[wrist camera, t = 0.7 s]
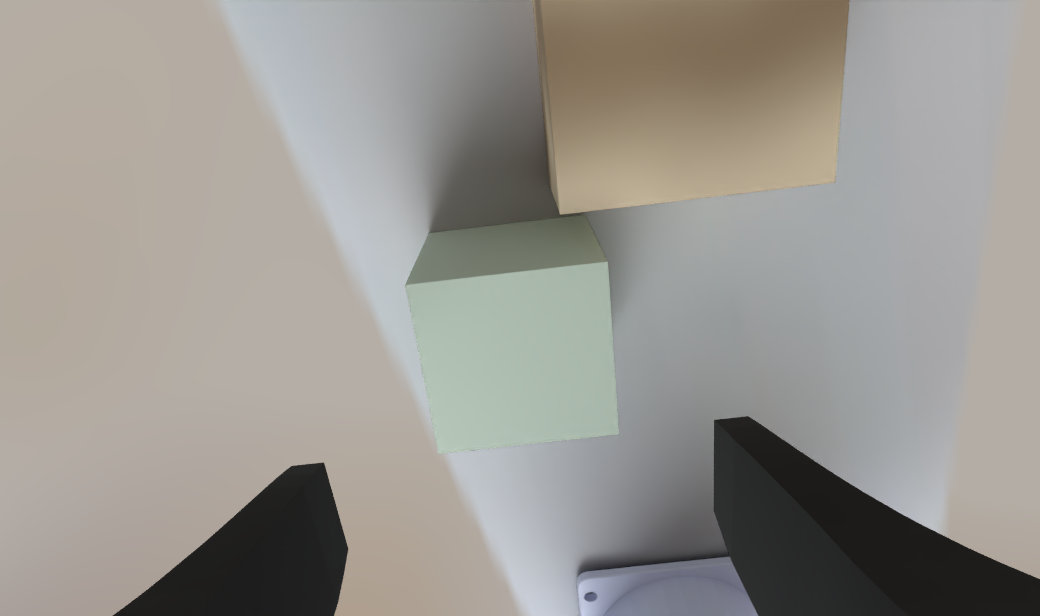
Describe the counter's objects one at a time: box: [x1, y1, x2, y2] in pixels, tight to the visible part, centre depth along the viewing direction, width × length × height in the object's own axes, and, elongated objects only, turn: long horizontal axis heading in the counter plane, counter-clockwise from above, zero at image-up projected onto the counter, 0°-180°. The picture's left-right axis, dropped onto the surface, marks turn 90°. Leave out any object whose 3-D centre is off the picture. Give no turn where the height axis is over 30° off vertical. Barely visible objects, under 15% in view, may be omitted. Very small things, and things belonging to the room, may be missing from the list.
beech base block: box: [532, 0, 849, 215], centre depth 16 cm, size 7×7×4 cm
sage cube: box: [405, 215, 619, 454], centre depth 18 cm, size 5×5×5 cm
